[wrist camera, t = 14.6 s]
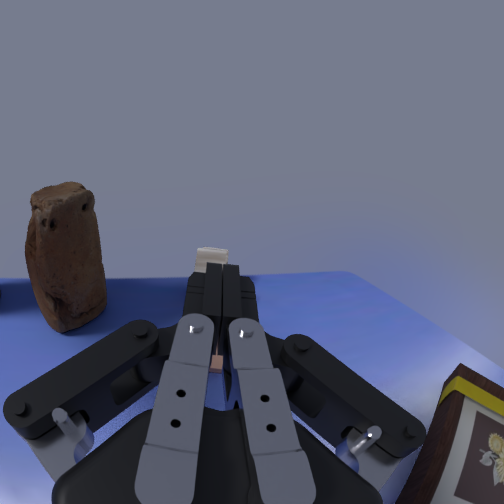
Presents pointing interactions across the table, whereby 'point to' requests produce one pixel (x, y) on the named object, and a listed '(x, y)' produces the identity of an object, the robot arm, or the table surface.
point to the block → (65, 256)
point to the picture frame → (462, 446)
